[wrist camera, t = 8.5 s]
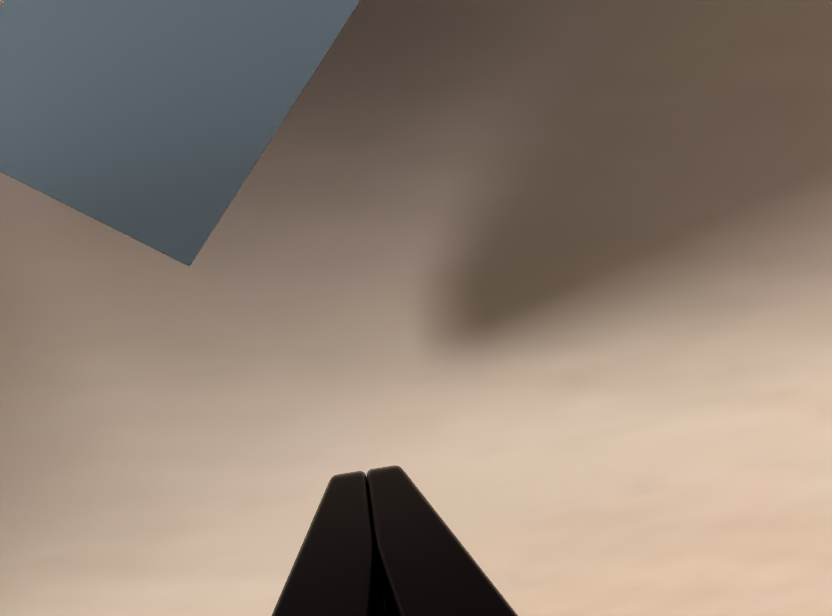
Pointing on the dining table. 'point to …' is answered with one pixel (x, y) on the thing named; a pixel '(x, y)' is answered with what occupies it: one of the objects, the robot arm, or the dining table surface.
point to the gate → (153, 103)
